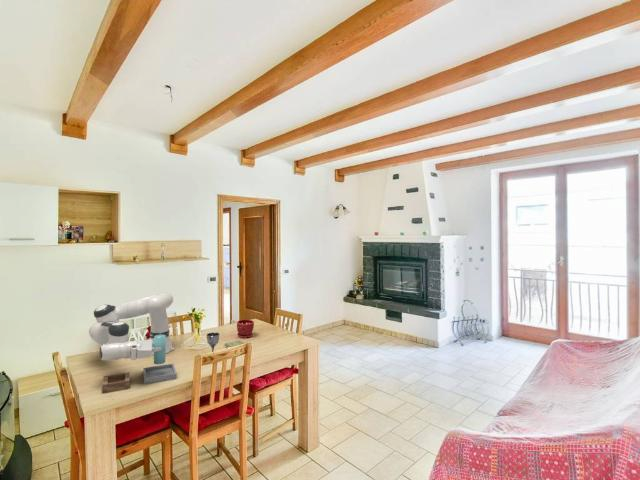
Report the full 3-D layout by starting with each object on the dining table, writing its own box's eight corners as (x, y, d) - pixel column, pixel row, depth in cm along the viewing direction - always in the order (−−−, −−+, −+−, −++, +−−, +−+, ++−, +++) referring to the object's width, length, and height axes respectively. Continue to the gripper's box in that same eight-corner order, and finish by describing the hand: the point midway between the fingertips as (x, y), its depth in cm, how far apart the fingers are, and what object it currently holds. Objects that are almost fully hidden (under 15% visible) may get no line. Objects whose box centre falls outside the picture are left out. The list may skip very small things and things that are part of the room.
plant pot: (233, 338, 265) (233, 322, 264) (242, 333, 277) (242, 318, 277) (248, 340, 261) (248, 324, 261) (256, 335, 274) (256, 320, 273)
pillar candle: (151, 362, 193) (152, 336, 192) (161, 359, 197) (162, 333, 197) (157, 365, 189) (157, 338, 189) (167, 362, 194) (167, 335, 194)
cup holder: (103, 383, 182) (103, 376, 182) (129, 379, 188) (129, 372, 188) (102, 393, 172) (102, 385, 172) (129, 388, 178) (129, 380, 177)
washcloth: (235, 353, 232) (235, 349, 232) (223, 347, 245) (223, 342, 245) (252, 349, 242) (252, 345, 241) (239, 343, 254) (239, 339, 254)
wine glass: (220, 354, 229) (220, 332, 228) (217, 359, 221) (217, 336, 220) (208, 354, 229) (208, 332, 228) (204, 358, 221) (205, 335, 220)
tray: (143, 373, 197) (143, 368, 197) (173, 368, 205) (173, 363, 204) (144, 384, 183) (144, 378, 183) (176, 378, 191) (176, 373, 191)
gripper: (135, 348, 197) (161, 346, 203) (132, 361, 178) (161, 357, 184) (135, 338, 197) (161, 335, 203) (132, 349, 178) (161, 346, 184)
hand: (161, 346), depth 193 cm, fingers closed on pillar candle, 6 cm apart
